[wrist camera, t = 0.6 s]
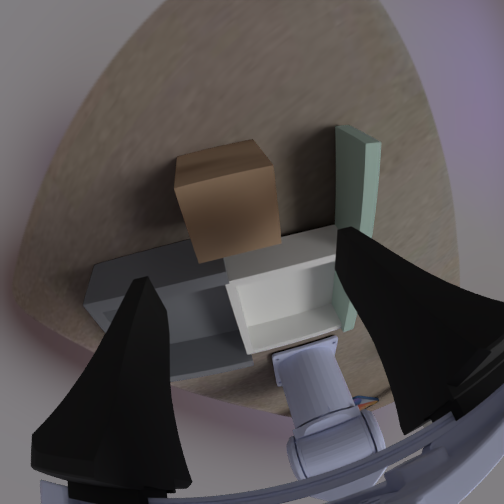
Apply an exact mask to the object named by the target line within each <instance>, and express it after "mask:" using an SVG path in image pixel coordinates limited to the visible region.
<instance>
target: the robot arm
mask: <svg viewBox="0 0 504 504" xmlns="http://www.w3.org/2000/svg"><path fill="white" fill-rule="evenodd" d="M335 271H336V273H337V276H338V278H339V280H340V282H341V285H342V287H343V289H344V291H345V293H346V295H347V296H348V298H349V300H350V301H351V303H352V305H353V306H354V308H355V310H356V311H357V313H358V315H359V317H360V318H361V320H362V322H363V323H364V325H365V327H366V329H367V330H368V332H369V334H370V336H371V338H372V340H373V342H374V344H375V347H376V349H377V351H378V354H379V356H380V359H381V361H382V364H383V367H384V369H385V372H386V375H387V378H388V381H389V384H390V387H391V391H392V394H393V397H394V401H395V404H396V409H397V413H398V417H399V422H400V427H401V429H402V432H403V433H404V435H406V434H408V433H410V432H412V431H414V430H415V429H417V428H419V427H421V426H422V425H424V424H426V423H428V422H429V421H432V424H430V425H428V426H427V427H425V428H423V429H422V430H420V431H418V432H416V433H415V434H413V435H411V436H409V437H407V438H406V439H404V440H402V441H400V442H398V443H396V444H394V445H392V446H390V447H388V448H386V446H385V441H384V438H383V435H382V432H381V429H380V427H379V425H378V423H377V421H376V418H375V417H374V415H373V414H372V412H371V411H368V410H366V409H362V410H359V407H358V405H357V406H355V404H354V401H353V399H352V396H351V394H350V392H349V389H348V387H347V384H346V382H345V380H344V377H343V375H342V373H341V370H340V368H339V366H338V363H337V361H336V359H335V351H336V346H337V342H338V337H337V336H332V337H328V338H325V339H322V340H319V341H316V342H313V343H309V344H306V345H303V346H299V347H296V348H292V349H289V350H285V351H282V352H278V353H275V354H273V355H272V361H273V367H274V372H275V378H276V383H277V386H283V390H284V393H285V396H286V399H287V403H288V406H289V409H290V413H291V416H292V419H293V422H294V425H295V429H294V430H293V433H294V436H292V437H290V438H289V441H288V442H287V454H288V458H289V462H290V465H291V468H292V470H293V473H294V475H295V476H296V478H297V479H298V481H295V482H291V483H287V484H283V485H279V486H275V487H270V488H265V489H260V490H254V491H248V492H242V493H236V494H228V495H220V496H208V497H194V498H167V493H176V490H175V489H185V488H188V487H189V486H190V485H191V483H192V480H191V477H190V474H189V471H188V468H187V465H186V462H185V458H184V455H183V451H182V447H181V443H180V440H179V435H178V431H177V426H176V421H175V416H174V410H173V404H172V398H171V387H170V332H169V323H168V315H167V310H166V308H165V306H164V304H163V303H162V301H161V299H160V297H159V295H158V294H157V292H156V290H155V288H154V286H153V284H152V283H151V281H150V279H149V277H148V276H145V277H141V278H137V279H133V281H132V283H131V285H130V287H129V288H128V290H127V292H126V294H125V296H124V298H123V300H122V302H121V304H120V306H119V308H118V310H117V312H116V314H115V316H114V318H113V320H112V322H111V324H110V326H109V328H108V330H107V332H106V333H105V335H104V337H103V339H102V341H101V343H100V345H99V346H98V348H97V350H96V352H95V353H94V355H93V357H92V359H91V360H90V362H89V363H88V365H87V367H86V368H85V370H84V371H83V373H82V374H81V376H80V377H79V379H78V380H77V381H76V383H75V384H74V386H73V387H72V388H71V390H70V392H69V393H68V394H67V396H66V397H65V398H64V399H63V401H62V402H61V403H60V404H59V406H58V407H57V408H56V409H55V410H54V412H53V413H52V414H51V415H50V416H49V417H48V418H47V420H45V422H44V423H43V424H42V425H41V426H40V427H39V428H38V429H37V430H36V431H35V432H34V433H33V434H32V446H31V467H32V468H33V469H34V470H37V471H39V472H42V473H45V474H47V475H50V476H54V477H57V478H60V479H63V480H67V481H68V486H64V485H60V484H56V483H52V482H48V481H44V480H40V493H41V504H280V503H285V502H289V501H293V500H297V499H301V498H305V497H308V496H310V497H313V498H317V499H321V500H325V501H329V502H327V503H324V504H459V503H460V502H461V501H462V500H463V499H464V498H465V497H466V496H467V495H468V494H469V493H470V492H471V491H472V490H473V489H474V488H475V487H476V486H477V485H478V484H479V483H480V482H481V481H482V480H483V479H484V478H485V477H486V476H487V475H488V474H489V473H490V471H491V470H492V469H493V468H494V467H495V466H496V465H497V463H498V462H499V461H500V460H501V458H502V457H503V456H504V302H501V301H497V300H494V299H490V298H487V297H484V296H481V295H478V294H475V293H473V292H470V291H467V290H465V289H462V288H460V287H458V286H455V285H453V284H451V283H448V282H446V281H444V280H442V279H440V278H438V277H436V276H434V275H432V274H430V273H428V272H426V271H424V270H422V269H421V268H419V267H417V266H415V265H414V264H412V263H410V262H409V261H407V260H405V259H403V258H402V257H400V256H399V255H397V254H395V253H394V252H392V251H391V250H389V249H387V248H386V247H384V246H383V245H381V244H380V243H378V242H376V241H375V240H373V239H372V238H370V237H369V236H367V235H365V234H364V233H362V232H361V231H359V230H357V229H355V228H354V227H352V226H350V227H346V228H342V229H338V230H337V243H336V257H335ZM423 447H424V448H423ZM421 448H423V450H422V454H421V455H418V456H416V457H414V458H412V459H410V460H408V461H406V462H404V463H402V464H400V465H398V466H396V467H395V468H393V469H391V470H389V471H387V472H385V474H384V477H385V479H386V481H384V482H382V483H379V484H377V485H375V484H376V482H377V481H378V480H379V478H380V477H381V476H382V474H383V473H384V471H385V470H386V468H387V467H388V466H389V465H391V464H394V463H395V462H397V461H399V460H401V459H403V458H405V457H407V456H409V455H411V454H412V453H414V452H416V451H418V450H419V449H421ZM374 485H375V486H374Z"/></svg>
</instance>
